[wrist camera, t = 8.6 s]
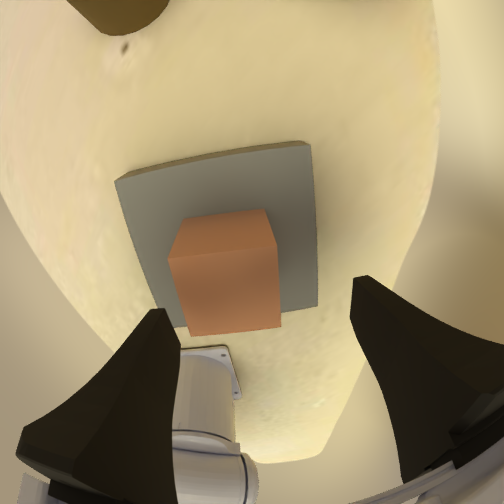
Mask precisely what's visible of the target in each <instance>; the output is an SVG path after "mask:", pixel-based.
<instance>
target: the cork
mask: <svg viewBox="0 0 504 504" xmlns="http://www.w3.org/2000/svg"><path fill="white" fill-rule="evenodd" d="M67 1H68V2H69V3H70V4H71V5H72V6H73V7H74V8H75V9H76V10H77V11H79V12H80V13H81V14H82V15H83V16H84V17H85V18H86V19H87V20H88V21H89V22H90V23H91V24H92V25H93V26H95V27H96V28H97V29H98V30H99V31H100V32H101V33H104V34H107V35H110V36H117V35H126V34H129V33H133V32H136V31H138V30H140V29H142V28H143V27H145V26H147V25H149V24H150V23H151V22H152V21H154V20H155V19H156V18H157V17H159V15H160V14H161V13H162V12H163V10H164V9H165V8H166V6H167V4H168V2H169V0H67Z"/></svg>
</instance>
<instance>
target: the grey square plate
mask: <svg viewBox="0 0 504 504" xmlns="http://www.w3.org/2000/svg"><path fill="white" fill-rule="evenodd" d="M114 183H115V187H116V190H117V194H118V197H119V201H120V204H121V208H122V211H123V214H124V217H125V221H126V224H127V227H128V230H129V233H130V236H131V239H132V242H133V245H134V248H135V251H136V253H137V256H138V259H139V262H140V264H141V267H142V270H143V272H144V275H145V278H146V280H147V283H148V285H149V288H150V290H151V293H152V295H153V298H154V300H155V303H156V305H157V307H158V308H165V309H166V312H167V314H168V316H169V319H170V321H171V323H172V326H173V328H177V327H186V326H187V323H186V320H185V317H184V314H183V310H182V307H181V304H180V301H179V297H178V294H177V291H176V287H175V284H174V280H173V277H172V273H171V270H170V266H169V262H168V259H167V258H168V256H169V253H170V251H171V248H172V245H173V243H174V240H175V238H176V235H177V233H178V230H179V228H180V225H181V223H182V221H183V219H185V218H192V217H200V216H207V215H215V214H222V213H230V212H238V211H247V210H256V209H265V212H266V215H267V218H268V221H269V223H270V226H271V229H272V232H273V235H274V238H275V241H276V244H277V252H278V270H279V289H280V310H281V313H284V312H289V311H295V310H300V309H306V308H311V307H316V306H318V267H317V234H316V213H315V196H314V181H313V168H312V157H311V146H310V144H307V143H305V142H302V141H293V142H283V143H275V144H267V145H259V146H252V147H245V148H239V149H233V150H227V151H221V152H215V153H210V154H205V155H199V156H194V157H190V158H185V159H180V160H176V161H171V162H167V163H163V164H158V165H154V166H150V167H146V168H142V169H139V170H135V171H131V172H127V173H126V174H124V175H123V176H121V177H120V178H118V179H117V180H115V181H114Z"/></svg>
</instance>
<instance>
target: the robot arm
mask: <svg viewBox="0 0 504 504" xmlns="http://www.w3.org/2000/svg"><path fill="white" fill-rule="evenodd" d="M350 320H351V323H352V326H353V329H354V332H355V335H356V337H357V340H358V342H359V344H360V346H361V348H362V350H363V352H364V354H365V356H366V358H367V360H368V362H369V364H370V366H371V368H372V370H373V372H374V374H375V376H376V378H377V381H378V383H379V385H380V388H381V390H382V393H383V396H384V399H385V402H386V405H387V409H388V412H389V416H390V419H391V423H392V427H393V431H394V436H395V440H396V445H397V450H398V457H399V463H400V471H401V477H402V480H403V483H404V484H403V485H401V486H398V487H396V488H393V489H391V490H388V491H386V492H383V493H380V494H378V495H375V496H372V497H369V498H366V499H363V500H360V501H356V502H353V503H349V504H401V503H403V502H405V501H407V500H410V499H412V498H414V497H416V496H418V495H420V494H421V495H420V496H419V497H418V500H417V502H416V503H415V504H503V503H504V345H503V344H499V343H495V342H492V341H488V340H485V339H482V338H479V337H476V336H473V335H471V334H468V333H466V332H463V331H461V330H459V329H456V328H454V327H452V326H450V325H448V324H446V323H444V322H442V321H440V320H438V319H436V318H434V317H432V316H430V315H429V314H427V313H425V312H424V311H422V310H420V309H419V308H417V307H415V306H414V305H412V304H411V303H409V302H407V301H406V300H404V299H403V298H402V297H400V296H398V295H397V294H396V293H394V292H393V291H391V290H390V289H388V288H387V287H385V286H384V285H382V284H381V283H379V282H378V281H376V280H375V279H373V278H372V277H370V276H368V275H365V276H360V277H355V278H353V288H352V300H351V309H350ZM240 398H242V393H241V390H240V387H239V384H238V380H237V377H236V374H235V371H234V368H233V364H232V361H231V358H230V354H229V351H228V348H227V347H225V346H218V347H209V348H199V349H188V350H181V344H180V342H179V339H178V337H177V335H176V333H175V330H174V328H173V326H172V323H171V321H170V319H169V316H168V314H167V312H166V309H165V308H157V309H150V310H149V312H148V313H147V314H146V315H145V316H144V318H143V319H142V320H141V321H140V323H139V324H138V325H137V327H136V328H135V329H134V330H133V332H132V333H131V334H130V335H129V337H128V338H127V339H126V340H125V342H124V343H123V344H122V345H121V347H120V348H119V349H118V350H117V351H116V353H115V354H114V355H113V356H112V357H111V359H110V360H109V361H108V362H107V363H106V364H105V365H104V366H103V367H102V369H101V370H100V371H99V372H98V373H97V374H96V375H95V376H94V377H93V378H92V379H91V380H90V381H89V382H88V383H87V384H85V385H84V386H83V387H82V388H81V389H80V390H78V391H77V392H76V393H75V394H74V395H73V396H71V397H70V398H69V399H68V400H66V401H65V402H64V403H62V404H61V405H60V406H58V407H57V408H55V409H54V410H52V411H51V412H49V413H48V414H46V415H45V416H43V417H41V418H39V419H38V420H36V421H34V422H32V423H30V424H29V425H27V426H25V427H24V428H23V431H22V434H21V437H20V440H19V443H18V447H17V450H16V456H17V457H18V458H19V459H20V460H21V461H22V462H24V463H25V464H27V465H28V466H30V467H31V468H33V469H34V470H36V471H38V472H39V473H41V474H43V475H44V476H46V477H48V478H50V479H51V480H50V484H48V483H46V482H43V481H41V480H39V479H37V478H35V477H33V476H31V475H28V474H26V473H24V474H23V478H22V482H21V486H20V491H19V496H18V501H17V504H255V503H256V500H257V496H258V488H259V485H258V484H259V480H258V472H257V468H256V465H255V463H254V461H253V460H252V459H251V458H250V456H249V455H248V454H247V453H240V443H235V439H236V435H235V415H234V399H240ZM422 493H423V494H422Z"/></svg>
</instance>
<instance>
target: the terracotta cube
mask: <svg viewBox="0 0 504 504" xmlns="http://www.w3.org/2000/svg"><path fill="white" fill-rule="evenodd" d="M167 259H168V262H169V266H170V270H171V273H172V277H173V280H174V284H175V287H176V291H177V294H178V297H179V301H180V304H181V307H182V310H183V314H184V317H185V320H186V323H187V326H188V329H189V332H190V335H191V337H192V336H205V335H216V334H227V333H237V332H246V331H254V330H262V329H270V328H277V327H281V310H280V289H279V270H278V252H277V244H276V241H275V238H274V235H273V232H272V229H271V226H270V223H269V221H268V218H267V215H266V212H265V209H256V210H247V211H238V212H230V213H222V214H215V215H207V216H200V217H192V218H185V219H183V221H182V223H181V225H180V228H179V230H178V233H177V235H176V238H175V240H174V243H173V245H172V248H171V251H170V253H169V256H168V258H167Z"/></svg>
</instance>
